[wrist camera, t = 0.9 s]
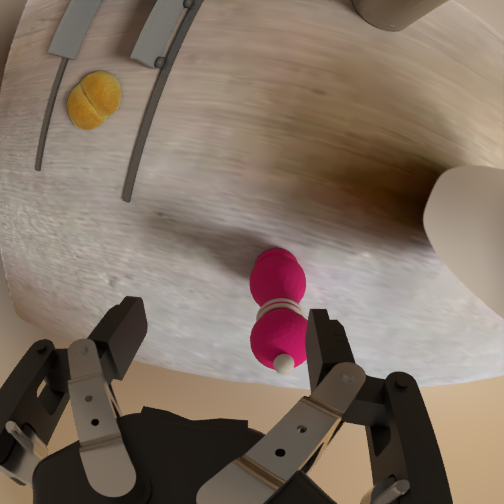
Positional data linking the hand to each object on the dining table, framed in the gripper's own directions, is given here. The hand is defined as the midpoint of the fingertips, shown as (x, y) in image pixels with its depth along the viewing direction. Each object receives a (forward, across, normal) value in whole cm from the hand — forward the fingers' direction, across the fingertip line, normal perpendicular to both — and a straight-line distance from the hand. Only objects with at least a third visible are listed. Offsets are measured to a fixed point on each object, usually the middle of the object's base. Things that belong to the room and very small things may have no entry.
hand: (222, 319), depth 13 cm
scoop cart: (+26, +19, -26) cm, 42 cm away
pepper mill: (+26, -4, +10) cm, 28 cm away
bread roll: (+26, +23, -15) cm, 38 cm away
